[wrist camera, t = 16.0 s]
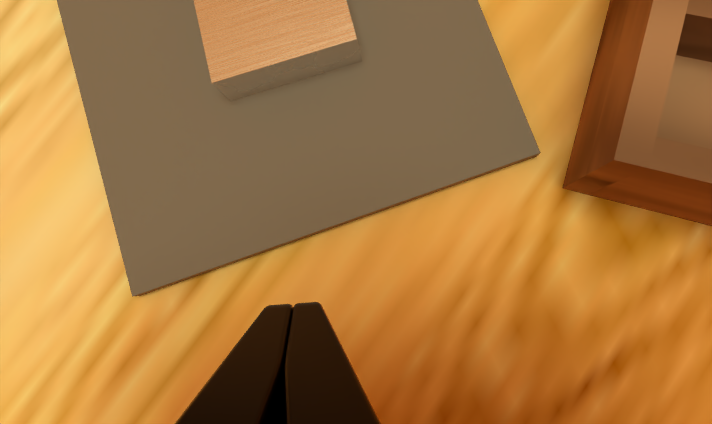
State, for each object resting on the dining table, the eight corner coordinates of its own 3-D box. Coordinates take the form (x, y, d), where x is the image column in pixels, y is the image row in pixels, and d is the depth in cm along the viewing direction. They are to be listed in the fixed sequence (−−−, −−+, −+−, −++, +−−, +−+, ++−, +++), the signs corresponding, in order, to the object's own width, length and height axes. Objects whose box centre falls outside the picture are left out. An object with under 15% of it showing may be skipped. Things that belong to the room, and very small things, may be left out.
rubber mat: (536, 156, 19) (540, 152, 19) (140, 295, 21) (132, 296, 20) (392, -196, 22) (391, -209, 22) (50, -52, 24) (41, -61, 23)
